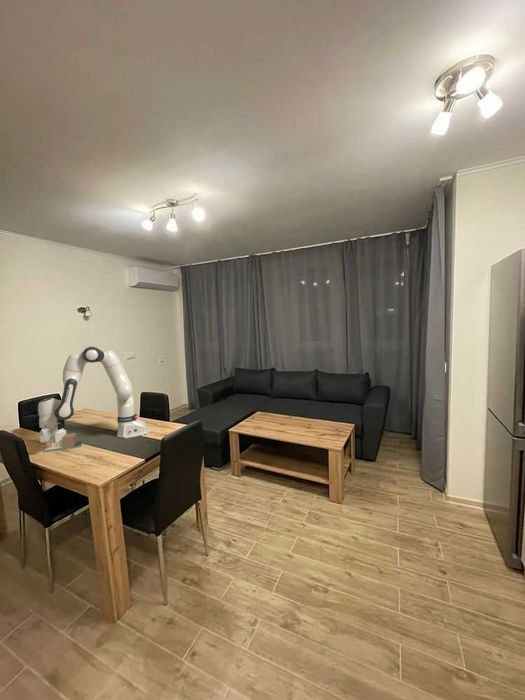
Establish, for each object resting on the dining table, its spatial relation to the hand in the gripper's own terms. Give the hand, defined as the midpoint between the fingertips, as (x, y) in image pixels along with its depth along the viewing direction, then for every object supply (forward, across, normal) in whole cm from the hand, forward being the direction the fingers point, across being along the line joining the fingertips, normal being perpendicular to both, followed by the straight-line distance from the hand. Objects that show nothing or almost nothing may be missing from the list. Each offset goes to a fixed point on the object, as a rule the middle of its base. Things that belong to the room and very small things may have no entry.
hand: (49, 443), depth 187 cm
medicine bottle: (+4, +14, -1) cm, 15 cm away
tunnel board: (+4, 0, -8) cm, 9 cm away
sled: (+2, 0, -5) cm, 5 cm away
